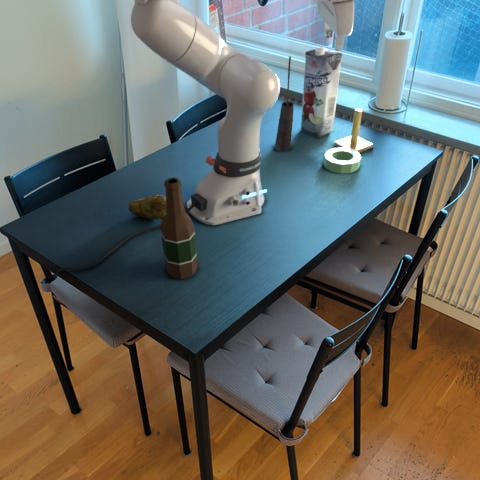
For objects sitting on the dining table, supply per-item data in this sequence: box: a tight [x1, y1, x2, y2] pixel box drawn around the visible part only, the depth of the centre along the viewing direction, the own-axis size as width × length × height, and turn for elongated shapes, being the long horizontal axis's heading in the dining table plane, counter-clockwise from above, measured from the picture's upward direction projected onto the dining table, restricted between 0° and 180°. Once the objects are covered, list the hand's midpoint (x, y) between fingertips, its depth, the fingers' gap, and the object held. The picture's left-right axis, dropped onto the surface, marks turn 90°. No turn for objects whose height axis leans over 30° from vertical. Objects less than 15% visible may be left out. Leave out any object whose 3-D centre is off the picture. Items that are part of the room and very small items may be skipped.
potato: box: [128, 194, 167, 221], centre depth 142 cm, size 8×13×8 cm, turn 43°
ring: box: [322, 147, 362, 174], centre depth 165 cm, size 11×11×3 cm
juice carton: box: [300, 46, 343, 138], centre depth 174 cm, size 9×10×27 cm
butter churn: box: [274, 55, 295, 152], centre depth 164 cm, size 9×10×28 cm
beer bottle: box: [160, 177, 198, 280], centre depth 120 cm, size 8×8×24 cm
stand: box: [333, 107, 374, 153], centre depth 170 cm, size 9×9×12 cm
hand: (333, 43), depth 138 cm, fingers open, 8 cm apart
